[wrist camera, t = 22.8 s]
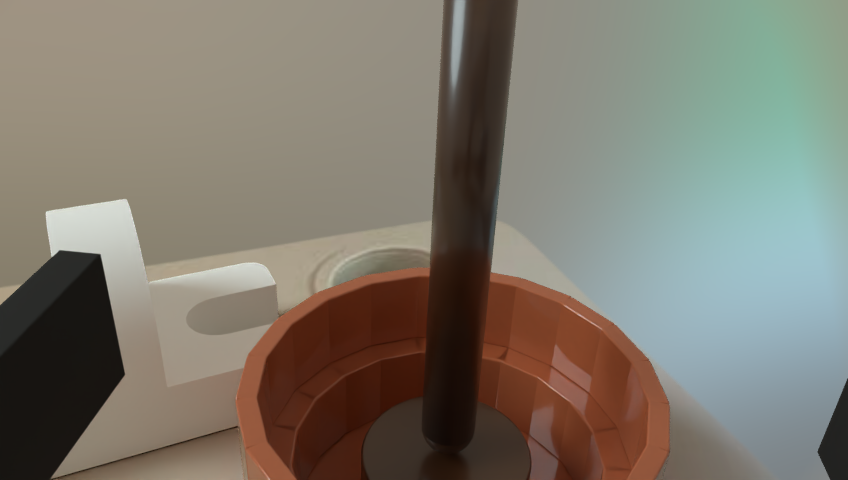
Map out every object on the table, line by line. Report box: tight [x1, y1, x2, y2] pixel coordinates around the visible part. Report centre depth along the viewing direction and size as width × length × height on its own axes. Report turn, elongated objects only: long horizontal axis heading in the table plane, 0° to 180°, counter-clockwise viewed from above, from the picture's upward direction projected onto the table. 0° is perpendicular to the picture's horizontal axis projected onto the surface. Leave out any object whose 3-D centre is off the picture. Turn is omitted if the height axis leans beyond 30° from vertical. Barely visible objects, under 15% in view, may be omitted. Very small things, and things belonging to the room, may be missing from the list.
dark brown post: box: [361, 0, 532, 480], centre depth 19 cm, size 5×5×19 cm
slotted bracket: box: [46, 199, 279, 479], centre depth 27 cm, size 13×7×8 cm, turn 116°
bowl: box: [235, 268, 670, 480], centre depth 23 cm, size 12×12×6 cm
